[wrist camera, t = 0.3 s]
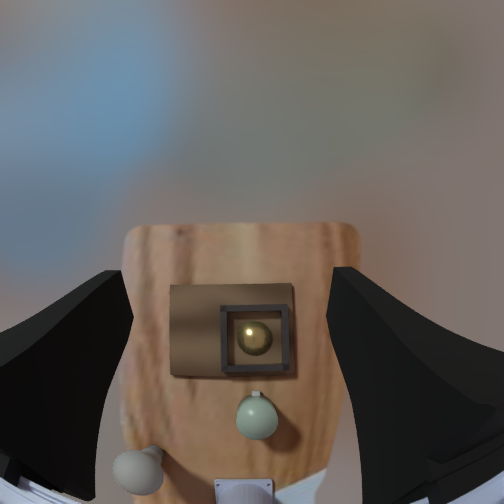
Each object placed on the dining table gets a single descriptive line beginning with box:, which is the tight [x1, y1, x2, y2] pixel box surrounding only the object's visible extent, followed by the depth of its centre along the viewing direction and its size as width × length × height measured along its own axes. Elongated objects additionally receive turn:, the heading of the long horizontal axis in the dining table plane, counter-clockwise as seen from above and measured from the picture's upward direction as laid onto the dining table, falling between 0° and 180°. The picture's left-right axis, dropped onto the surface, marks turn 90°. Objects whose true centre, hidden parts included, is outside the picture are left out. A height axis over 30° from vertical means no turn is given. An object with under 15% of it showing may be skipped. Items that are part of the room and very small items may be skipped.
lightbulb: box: [113, 445, 164, 495], centre depth 26 cm, size 6×6×11 cm
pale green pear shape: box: [236, 391, 278, 440], centre depth 32 cm, size 6×5×5 cm
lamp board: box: [170, 283, 295, 377], centre depth 36 cm, size 12×16×1 cm
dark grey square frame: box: [220, 304, 290, 372], centre depth 35 cm, size 8×8×1 cm
